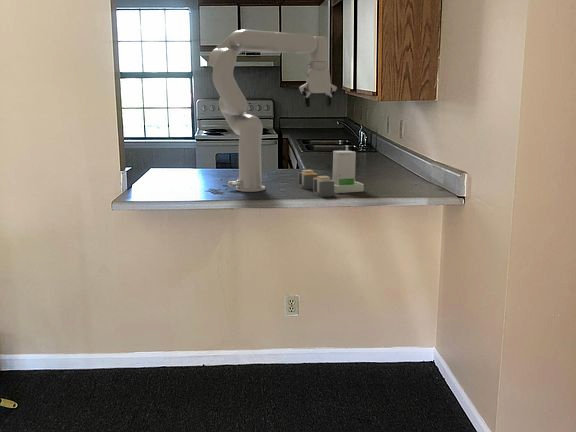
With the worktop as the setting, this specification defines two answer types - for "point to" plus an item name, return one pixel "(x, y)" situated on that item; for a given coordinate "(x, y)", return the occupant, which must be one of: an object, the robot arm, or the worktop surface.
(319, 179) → the cartridges
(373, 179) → the worktop surface
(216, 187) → the worktop surface
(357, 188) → the tray
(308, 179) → the rail
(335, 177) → the skincare box
